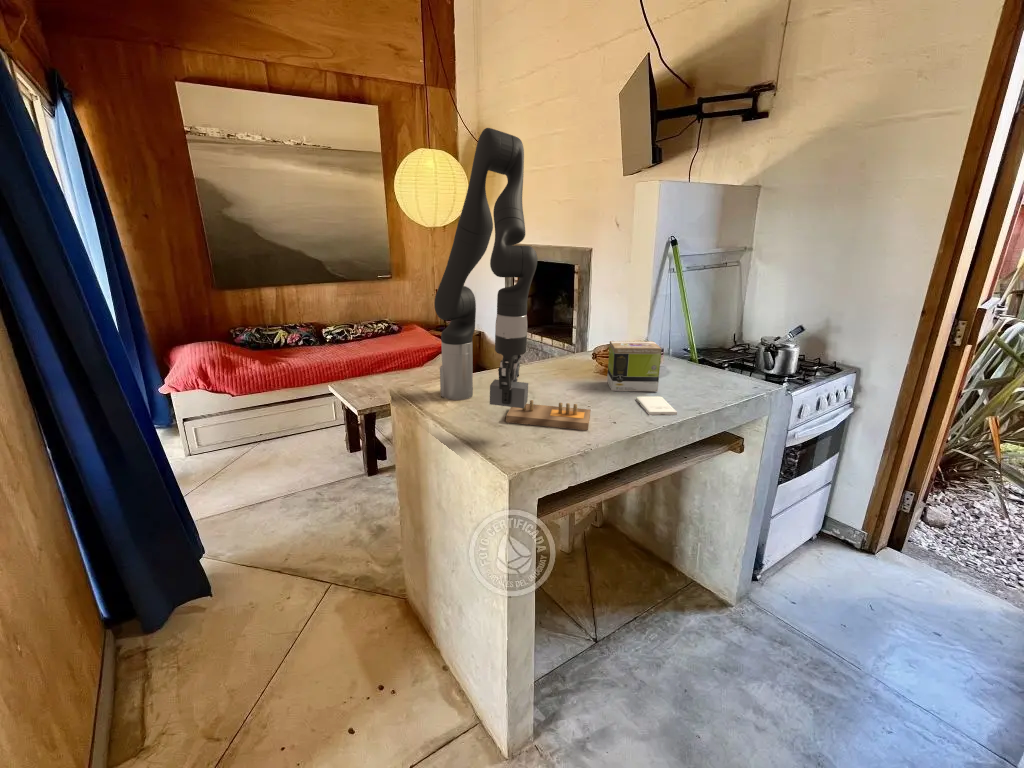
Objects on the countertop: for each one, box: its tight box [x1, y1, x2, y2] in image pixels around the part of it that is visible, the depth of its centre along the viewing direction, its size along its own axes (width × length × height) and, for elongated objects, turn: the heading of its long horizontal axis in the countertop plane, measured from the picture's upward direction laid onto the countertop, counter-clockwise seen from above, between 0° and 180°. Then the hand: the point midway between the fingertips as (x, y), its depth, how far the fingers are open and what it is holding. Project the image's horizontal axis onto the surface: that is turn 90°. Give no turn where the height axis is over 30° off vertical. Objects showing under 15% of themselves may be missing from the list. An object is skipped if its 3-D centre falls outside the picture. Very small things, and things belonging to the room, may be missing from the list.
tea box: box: [606, 340, 662, 393], centre depth 161 cm, size 15×10×15 cm
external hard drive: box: [635, 396, 678, 416], centre depth 146 cm, size 2×8×12 cm
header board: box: [505, 399, 591, 431], centre depth 135 cm, size 22×10×5 cm, turn 79°
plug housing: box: [489, 379, 529, 408], centre depth 121 cm, size 9×5×5 cm, turn 77°
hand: (508, 399), depth 122 cm, fingers closed on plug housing, 4 cm apart
